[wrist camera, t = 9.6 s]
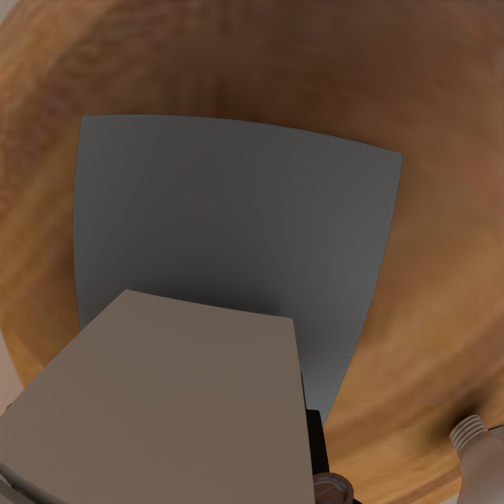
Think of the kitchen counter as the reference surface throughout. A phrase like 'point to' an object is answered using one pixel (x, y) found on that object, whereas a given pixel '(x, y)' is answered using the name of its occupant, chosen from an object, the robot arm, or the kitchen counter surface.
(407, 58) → the kitchen counter surface
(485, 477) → the lightbulb
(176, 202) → the post board
